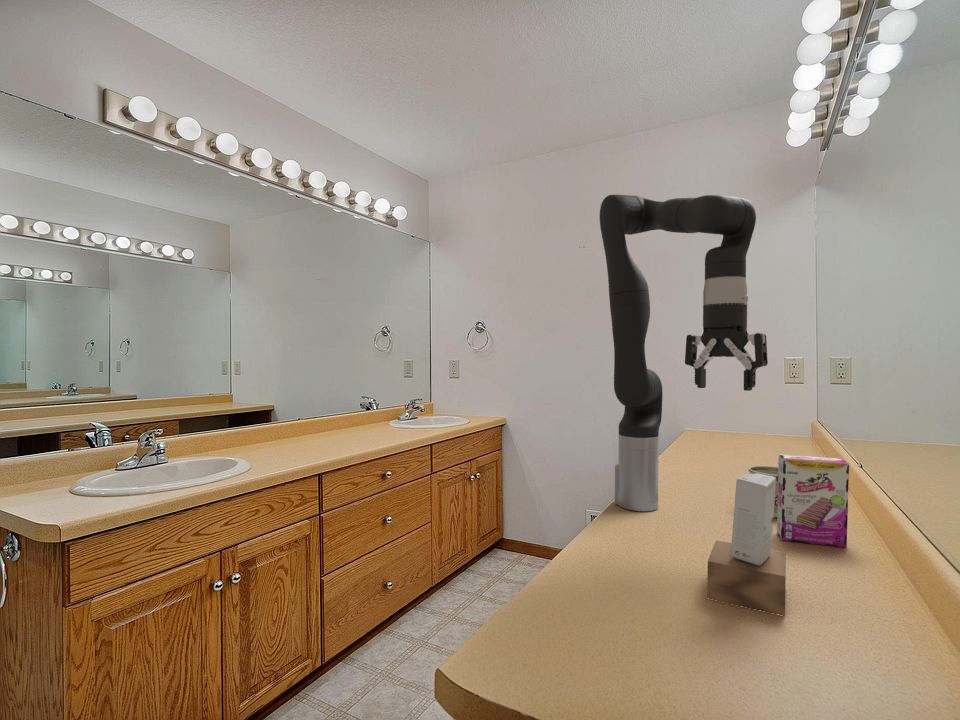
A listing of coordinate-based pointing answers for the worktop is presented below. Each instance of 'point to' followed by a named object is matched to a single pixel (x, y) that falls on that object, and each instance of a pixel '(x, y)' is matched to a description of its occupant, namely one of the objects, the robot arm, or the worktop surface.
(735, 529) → the skincare box
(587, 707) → the worktop surface
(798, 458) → the candy bar box
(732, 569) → the walnut block
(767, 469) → the ceramic cup
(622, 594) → the worktop surface
